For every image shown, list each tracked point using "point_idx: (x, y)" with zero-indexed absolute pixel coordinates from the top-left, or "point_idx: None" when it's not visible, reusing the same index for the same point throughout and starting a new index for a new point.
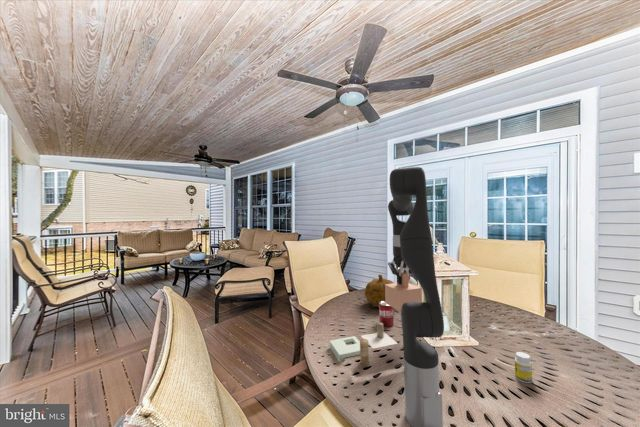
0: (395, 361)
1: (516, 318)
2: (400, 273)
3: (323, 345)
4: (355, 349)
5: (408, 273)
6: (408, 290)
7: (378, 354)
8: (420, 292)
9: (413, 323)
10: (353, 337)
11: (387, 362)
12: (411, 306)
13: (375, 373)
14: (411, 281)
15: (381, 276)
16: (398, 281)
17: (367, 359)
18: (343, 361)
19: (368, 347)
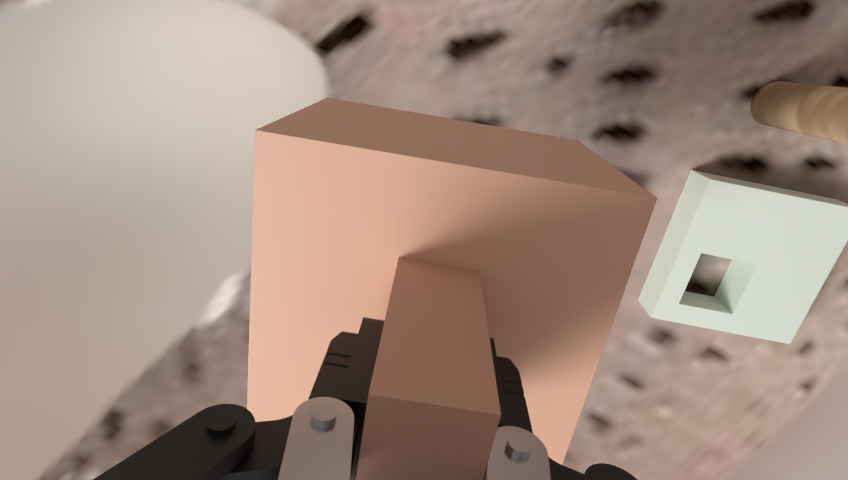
0: (611, 55)
1: None
2: (518, 475)
3: (775, 353)
4: (758, 209)
5: (306, 422)
6: (499, 168)
7: (628, 154)
8: (295, 122)
9: None
10: (667, 309)
11: (652, 71)
12: None
13: (780, 28)
14: None
15: None
16: (520, 384)
17: (811, 84)
18: (816, 195)
19: (838, 98)
